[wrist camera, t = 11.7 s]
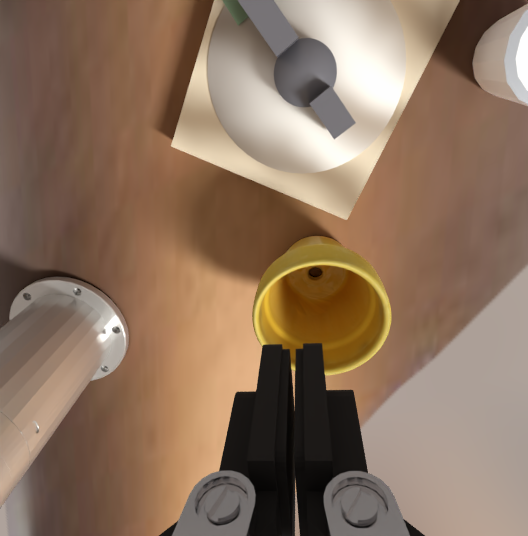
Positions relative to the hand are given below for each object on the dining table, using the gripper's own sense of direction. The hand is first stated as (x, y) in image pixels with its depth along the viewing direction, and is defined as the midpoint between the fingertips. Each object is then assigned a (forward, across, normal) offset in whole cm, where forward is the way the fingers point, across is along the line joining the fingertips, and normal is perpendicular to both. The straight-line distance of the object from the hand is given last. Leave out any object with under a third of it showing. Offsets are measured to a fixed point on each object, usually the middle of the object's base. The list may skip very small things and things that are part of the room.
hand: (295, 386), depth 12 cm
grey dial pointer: (+25, +1, -11) cm, 27 cm away
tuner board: (+27, -1, -8) cm, 28 cm away
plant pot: (+27, -1, +8) cm, 29 cm away
